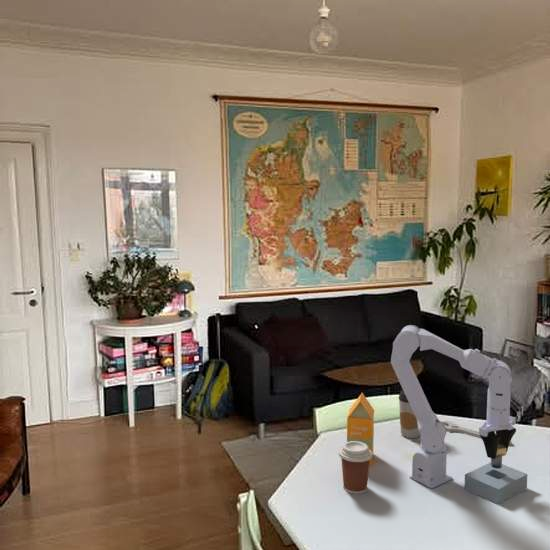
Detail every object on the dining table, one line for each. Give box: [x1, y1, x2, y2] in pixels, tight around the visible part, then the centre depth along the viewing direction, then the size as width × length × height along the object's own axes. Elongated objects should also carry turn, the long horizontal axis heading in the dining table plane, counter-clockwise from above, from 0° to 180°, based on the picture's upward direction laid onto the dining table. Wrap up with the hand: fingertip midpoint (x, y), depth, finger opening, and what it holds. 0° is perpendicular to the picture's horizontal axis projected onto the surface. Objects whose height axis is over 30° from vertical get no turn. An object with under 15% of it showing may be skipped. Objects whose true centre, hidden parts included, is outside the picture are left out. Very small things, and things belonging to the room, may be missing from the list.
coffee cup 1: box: [338, 441, 372, 495], centre depth 143 cm, size 9×9×12 cm
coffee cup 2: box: [398, 389, 421, 439], centre depth 179 cm, size 8×8×15 cm
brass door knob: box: [490, 444, 507, 469], centre depth 142 cm, size 5×5×6 cm
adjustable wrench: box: [439, 420, 513, 447], centre depth 179 cm, size 25×6×2 cm, turn 43°
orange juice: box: [346, 392, 375, 467], centre depth 160 cm, size 8×9×20 cm
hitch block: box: [463, 461, 528, 505], centre depth 143 cm, size 14×10×4 cm
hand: (496, 455), depth 142 cm, fingers closed on brass door knob, 5 cm apart
